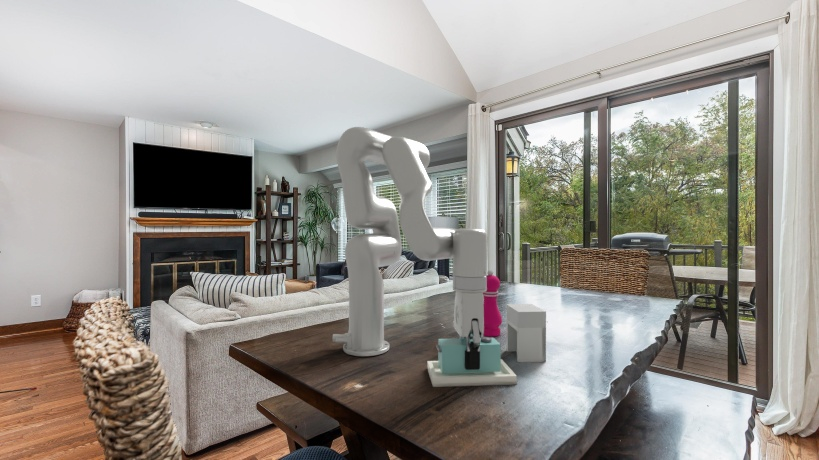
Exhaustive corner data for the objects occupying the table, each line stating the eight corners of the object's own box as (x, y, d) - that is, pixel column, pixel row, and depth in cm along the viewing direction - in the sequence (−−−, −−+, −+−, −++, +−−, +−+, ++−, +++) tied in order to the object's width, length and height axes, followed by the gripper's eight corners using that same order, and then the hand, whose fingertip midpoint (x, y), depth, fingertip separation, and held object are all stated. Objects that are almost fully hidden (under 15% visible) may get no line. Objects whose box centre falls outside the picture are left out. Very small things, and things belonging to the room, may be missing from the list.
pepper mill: (500, 330, 120) (500, 268, 119) (503, 337, 112) (503, 271, 112) (477, 330, 120) (477, 268, 120) (479, 336, 113) (479, 271, 113)
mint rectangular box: (439, 373, 80) (439, 343, 80) (435, 364, 85) (435, 336, 85) (500, 371, 82) (500, 341, 81) (493, 363, 87) (493, 335, 86)
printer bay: (518, 362, 92) (518, 311, 92) (506, 350, 101) (506, 304, 101) (545, 361, 92) (546, 311, 92) (531, 349, 101) (531, 303, 101)
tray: (432, 386, 78) (432, 378, 78) (427, 368, 88) (427, 361, 88) (516, 384, 79) (516, 375, 79) (501, 366, 89) (501, 359, 89)
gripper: (446, 278, 91) (446, 351, 92) (461, 290, 74) (460, 380, 75) (476, 278, 92) (476, 351, 92) (497, 289, 75) (497, 379, 75)
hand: (469, 363), depth 83 cm, fingers closed on mint rectangular box, 5 cm apart
